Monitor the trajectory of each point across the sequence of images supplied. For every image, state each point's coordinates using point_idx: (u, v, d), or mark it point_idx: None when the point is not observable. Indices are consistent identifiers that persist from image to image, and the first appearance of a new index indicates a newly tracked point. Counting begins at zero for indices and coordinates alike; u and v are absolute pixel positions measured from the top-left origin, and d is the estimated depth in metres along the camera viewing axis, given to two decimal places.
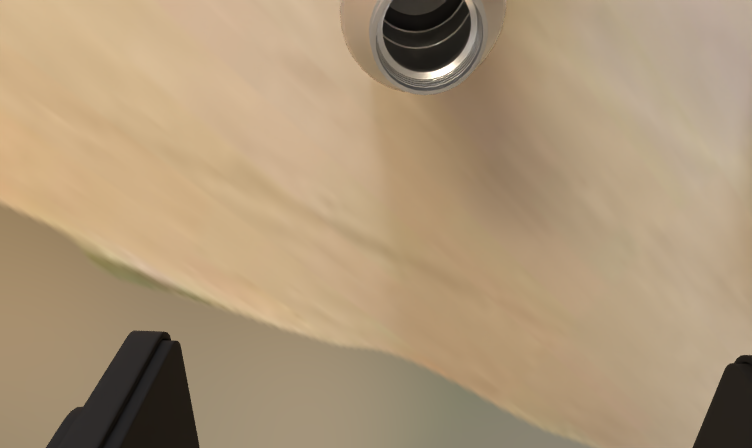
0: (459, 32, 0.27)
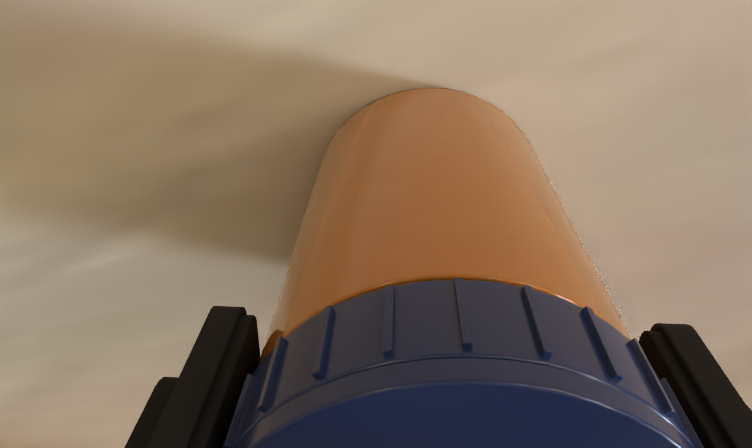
0: None
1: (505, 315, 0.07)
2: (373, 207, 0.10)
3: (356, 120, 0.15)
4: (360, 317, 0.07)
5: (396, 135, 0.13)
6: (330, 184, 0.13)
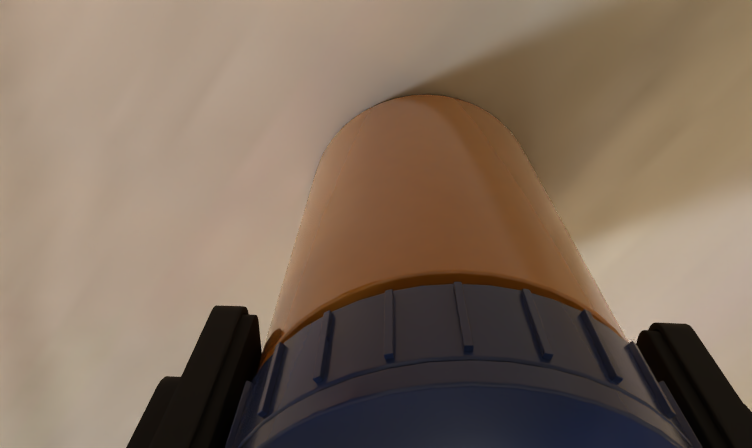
0: None
1: (505, 318, 0.07)
2: None
3: None
4: (360, 321, 0.07)
5: None
6: None
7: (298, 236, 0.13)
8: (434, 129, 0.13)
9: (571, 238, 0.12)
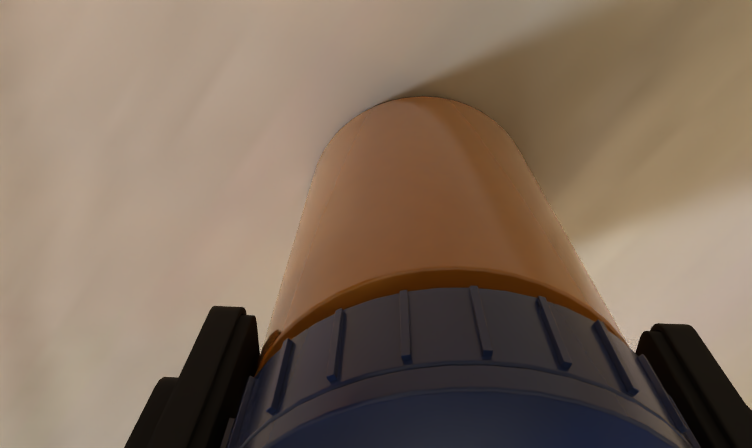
0: None
1: None
2: None
3: None
4: None
5: None
6: None
7: (296, 238, 0.13)
8: (429, 129, 0.14)
9: None
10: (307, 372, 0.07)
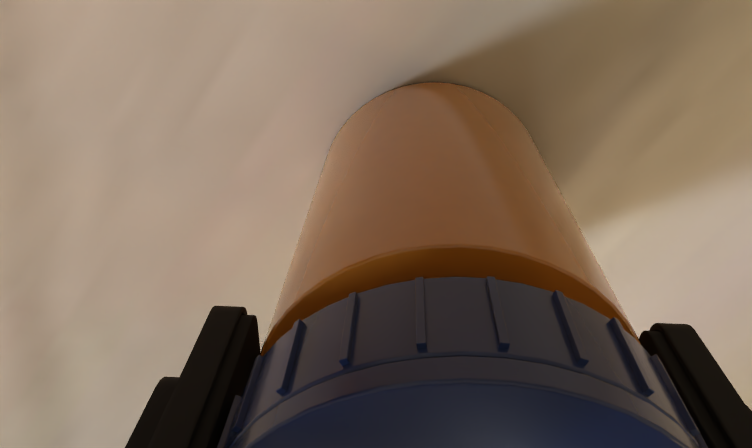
0: None
1: None
2: None
3: None
4: (647, 363, 0.07)
5: None
6: None
7: None
8: (423, 115, 0.14)
9: (566, 206, 0.12)
10: None
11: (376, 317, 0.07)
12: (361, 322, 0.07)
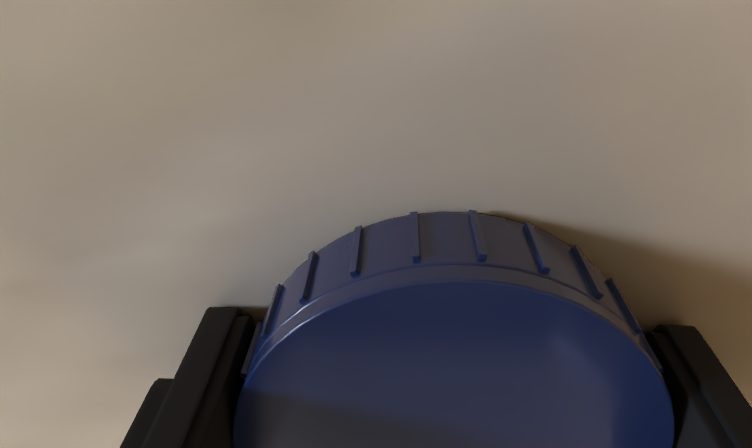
0: None
1: None
2: None
3: None
4: (602, 281, 0.09)
5: None
6: None
7: None
8: None
9: None
10: None
11: (379, 242, 0.09)
12: (366, 247, 0.09)
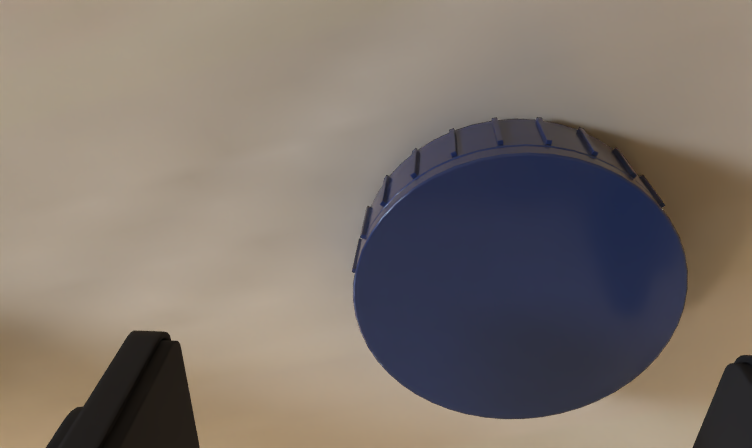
0: None
1: None
2: None
3: None
4: None
5: None
6: None
7: None
8: None
9: None
10: None
11: (469, 137, 0.12)
12: (460, 140, 0.12)
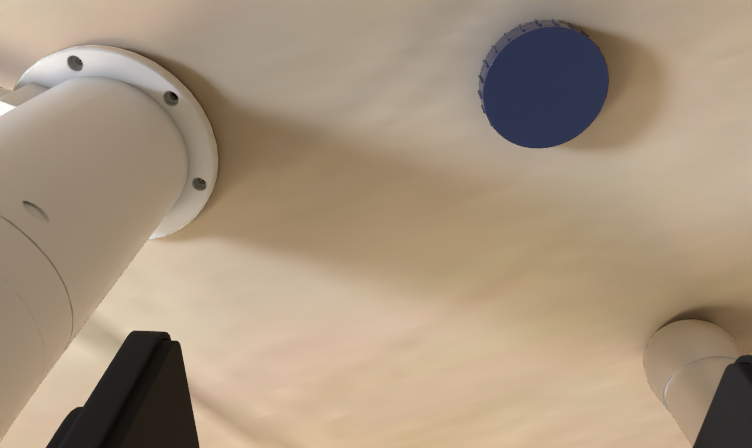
0: None
1: None
2: None
3: None
4: None
5: None
6: None
7: None
8: None
9: None
10: None
11: (527, 25, 0.32)
12: (524, 27, 0.32)
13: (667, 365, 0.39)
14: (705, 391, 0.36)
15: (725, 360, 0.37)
